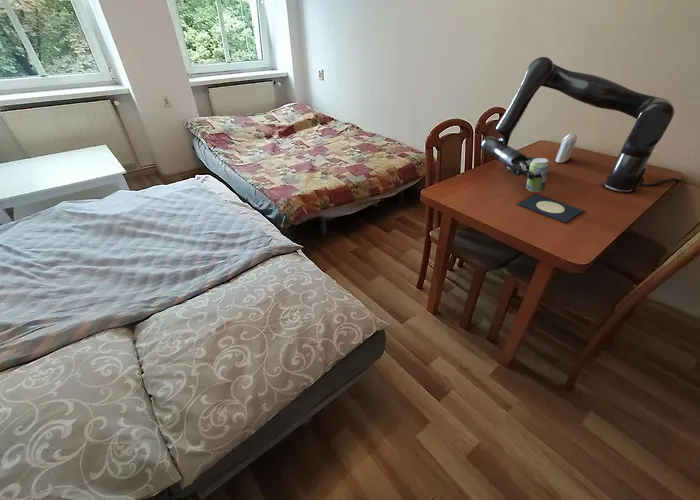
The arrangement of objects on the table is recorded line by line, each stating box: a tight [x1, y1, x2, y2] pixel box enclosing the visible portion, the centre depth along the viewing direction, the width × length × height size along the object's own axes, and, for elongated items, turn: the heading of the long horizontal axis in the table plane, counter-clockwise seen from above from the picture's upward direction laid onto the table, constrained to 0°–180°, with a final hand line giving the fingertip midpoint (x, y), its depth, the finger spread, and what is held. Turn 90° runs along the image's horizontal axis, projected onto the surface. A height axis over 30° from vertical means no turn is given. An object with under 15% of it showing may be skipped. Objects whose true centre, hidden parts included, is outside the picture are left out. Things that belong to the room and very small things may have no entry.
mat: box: [518, 193, 584, 224], centre depth 119 cm, size 17×13×1 cm
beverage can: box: [525, 157, 550, 193], centre depth 120 cm, size 6×7×12 cm
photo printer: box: [555, 133, 578, 164], centre depth 155 cm, size 10×4×12 cm, turn 134°
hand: (537, 176), depth 117 cm, fingers closed on beverage can, 3 cm apart
